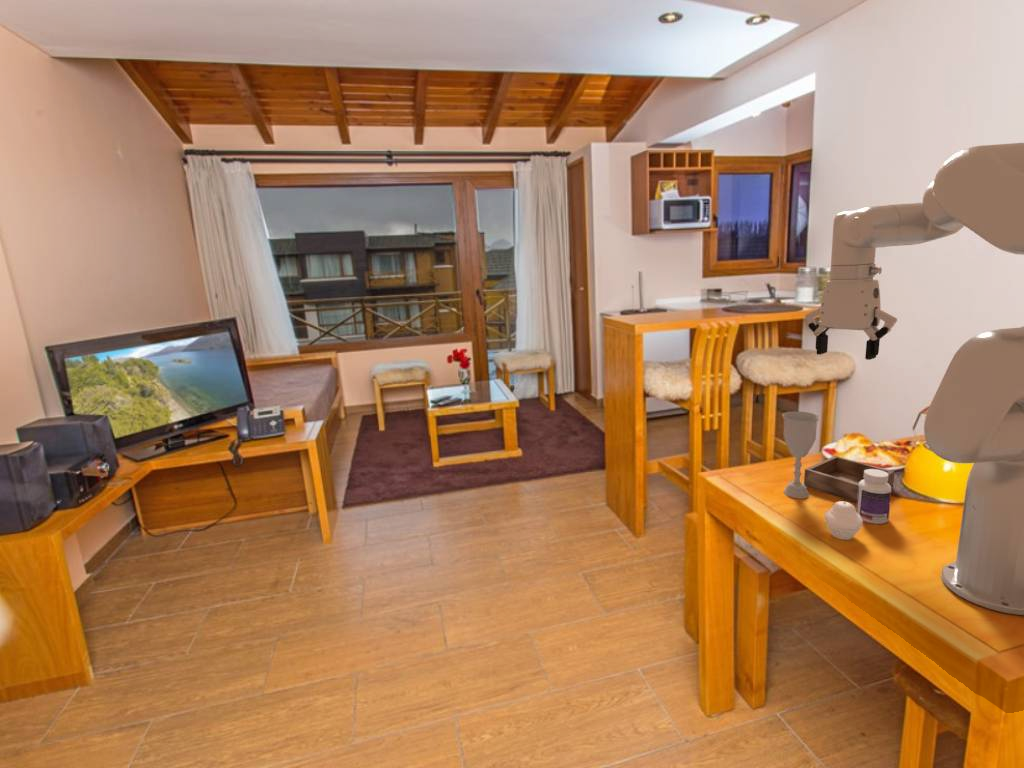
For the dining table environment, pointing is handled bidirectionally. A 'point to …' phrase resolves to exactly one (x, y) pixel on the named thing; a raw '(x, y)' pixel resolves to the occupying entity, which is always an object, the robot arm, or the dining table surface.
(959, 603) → the dining table surface
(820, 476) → the walnut box
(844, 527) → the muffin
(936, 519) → the dining table surface
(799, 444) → the chalice
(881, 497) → the pill bottle
